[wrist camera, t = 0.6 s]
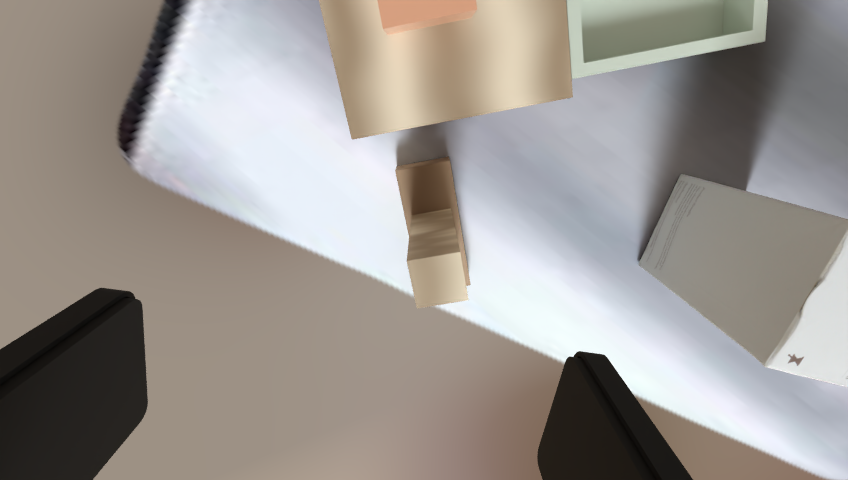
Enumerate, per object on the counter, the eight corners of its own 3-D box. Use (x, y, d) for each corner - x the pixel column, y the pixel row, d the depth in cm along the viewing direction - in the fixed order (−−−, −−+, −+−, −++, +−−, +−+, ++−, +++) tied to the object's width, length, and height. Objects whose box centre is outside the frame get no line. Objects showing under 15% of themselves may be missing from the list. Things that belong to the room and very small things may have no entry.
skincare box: (697, 281, 37) (866, 403, 23) (631, 263, 36) (762, 376, 22) (748, 186, 34) (977, 258, 20) (678, 165, 33) (862, 223, 19)
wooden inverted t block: (448, 156, 33) (459, 188, 23) (468, 274, 37) (485, 350, 26) (397, 166, 33) (384, 202, 23) (421, 282, 37) (419, 360, 26)
